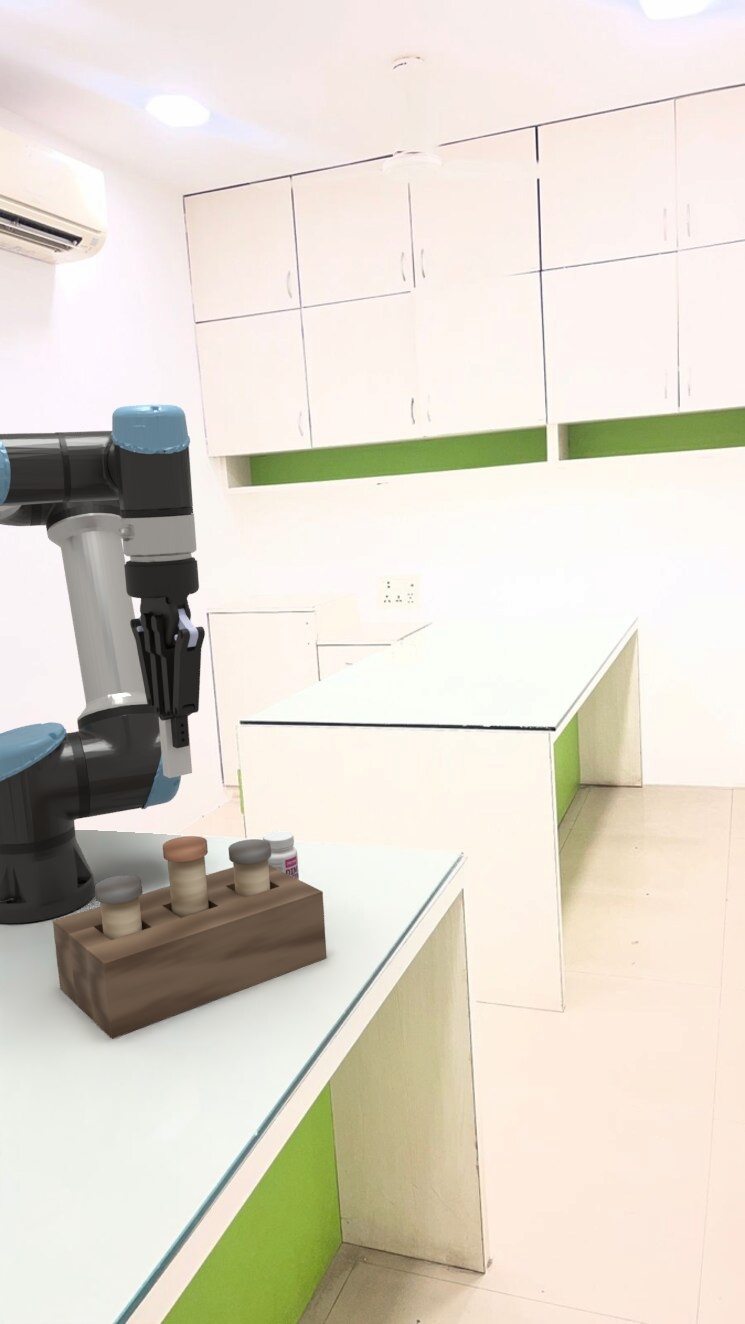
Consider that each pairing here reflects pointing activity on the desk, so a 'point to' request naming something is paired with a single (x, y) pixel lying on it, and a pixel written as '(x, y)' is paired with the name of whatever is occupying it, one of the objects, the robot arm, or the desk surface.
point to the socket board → (188, 950)
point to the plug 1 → (120, 905)
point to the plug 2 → (250, 866)
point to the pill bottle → (283, 852)
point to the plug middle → (187, 874)
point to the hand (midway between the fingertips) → (177, 773)
